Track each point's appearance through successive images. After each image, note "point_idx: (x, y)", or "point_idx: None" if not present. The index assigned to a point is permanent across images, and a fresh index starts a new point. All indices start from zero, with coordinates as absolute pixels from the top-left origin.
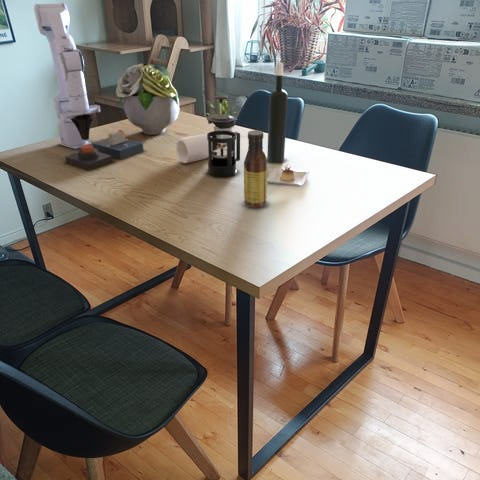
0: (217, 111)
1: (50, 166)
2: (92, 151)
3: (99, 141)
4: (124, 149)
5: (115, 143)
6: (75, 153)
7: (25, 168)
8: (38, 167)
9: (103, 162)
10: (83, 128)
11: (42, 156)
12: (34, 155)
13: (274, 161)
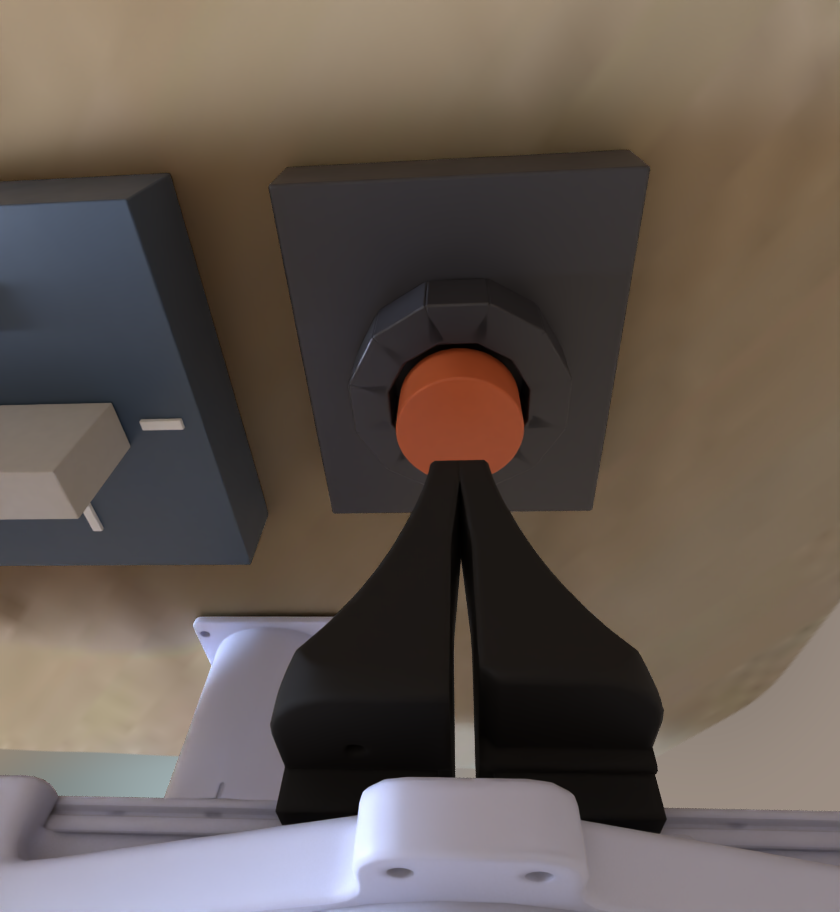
0: None
1: (705, 498)
2: (433, 355)
3: (179, 557)
4: (45, 201)
5: (75, 408)
6: None
7: (816, 576)
8: (762, 537)
9: (416, 166)
10: (533, 563)
11: None
12: None
13: None
